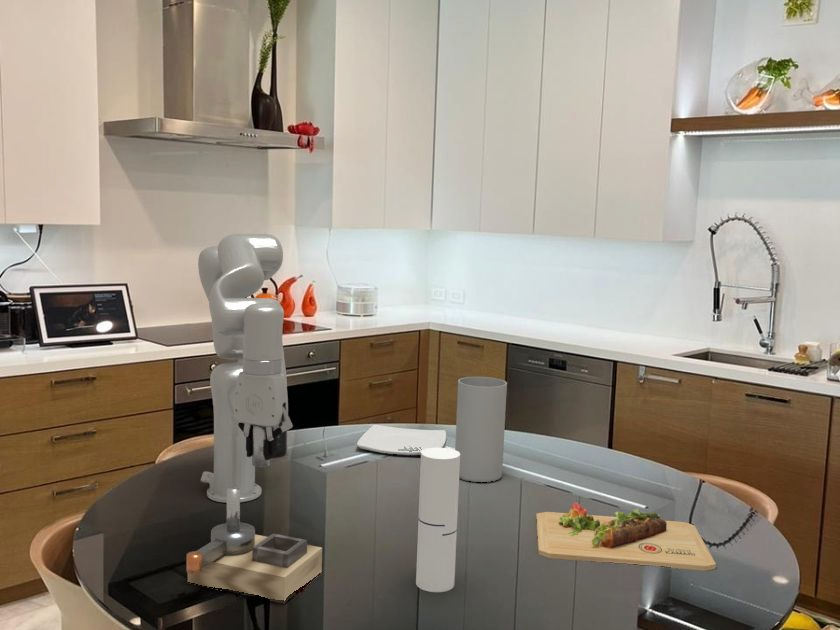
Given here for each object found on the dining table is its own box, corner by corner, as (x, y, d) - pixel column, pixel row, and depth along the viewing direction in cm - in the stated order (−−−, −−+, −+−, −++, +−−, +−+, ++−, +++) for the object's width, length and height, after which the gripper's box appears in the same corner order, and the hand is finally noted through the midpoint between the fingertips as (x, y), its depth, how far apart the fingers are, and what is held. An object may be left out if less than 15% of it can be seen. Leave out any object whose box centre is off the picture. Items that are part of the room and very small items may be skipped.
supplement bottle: (266, 449, 236) (266, 407, 235) (289, 451, 235) (290, 409, 234) (258, 456, 229) (258, 413, 228) (282, 458, 228) (283, 415, 227)
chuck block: (187, 582, 154) (187, 543, 153) (230, 553, 167) (231, 517, 166) (284, 604, 147) (285, 563, 146) (321, 572, 160) (322, 534, 159)
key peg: (248, 465, 168) (249, 416, 167) (257, 460, 171) (258, 412, 170) (263, 468, 167) (264, 419, 166) (272, 463, 170) (273, 415, 169)
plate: (351, 454, 236) (351, 445, 236) (370, 431, 260) (371, 423, 260) (437, 462, 232) (438, 452, 232) (449, 438, 256) (450, 429, 256)
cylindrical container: (414, 575, 160) (419, 447, 157) (451, 575, 161) (457, 447, 158) (417, 592, 153) (422, 458, 150) (456, 592, 154) (462, 459, 151)
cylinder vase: (446, 470, 224) (450, 378, 220) (488, 466, 229) (492, 375, 225) (467, 485, 212) (471, 388, 209) (510, 481, 217) (515, 385, 214)
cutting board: (538, 560, 171) (540, 524, 170) (535, 518, 194) (537, 486, 193) (717, 574, 167) (720, 538, 166) (692, 530, 190) (695, 497, 189)
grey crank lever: (170, 569, 147) (170, 508, 145) (226, 534, 163) (227, 479, 161) (209, 578, 144) (209, 516, 143) (262, 541, 160) (263, 485, 159)
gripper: (215, 365, 166) (215, 455, 168) (289, 375, 160) (288, 468, 163) (236, 358, 173) (235, 445, 175) (308, 368, 167) (306, 457, 170)
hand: (261, 455), depth 169 cm, fingers closed on key peg, 3 cm apart
